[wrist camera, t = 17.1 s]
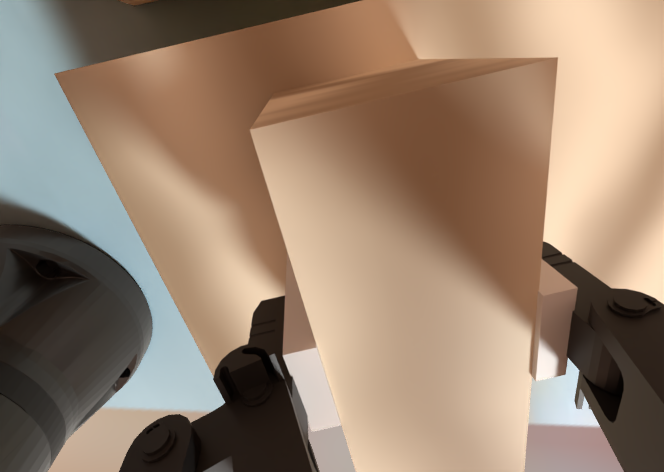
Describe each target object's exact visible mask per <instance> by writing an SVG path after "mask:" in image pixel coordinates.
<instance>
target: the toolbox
mask: <svg viewBox="0 0 664 472" xmlns="http://www.w3.org/2000/svg"><path fill="white" fill-rule="evenodd" d="M118 1H121V2H124V3H127V4H130V5H133V6H137V5H141V4H145V3H149V2H153V1H158V0H118Z"/></svg>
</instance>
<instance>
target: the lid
mask: <svg viewBox="0 0 664 472" xmlns="http://www.w3.org/2000/svg"><path fill="white" fill-rule="evenodd" d="M55 76H56V78H57V80H58V82H59V84H60V86H61V88H62V90H63V92H64V93H65V95H66V97H67V99H68V101H69V103H70V105H71V107H72V109H73V111H74V112H75V114H76V116H77V118H78V120H79V122H80V124H81V126H82V128H83V129H84V131H85V133H86V135H87V137H88V139H89V141H90V143H91V145H92V147H93V148H94V150H95V152H96V154H97V156H98V158H99V160H100V162H101V164H102V166H103V167H104V169H105V171H106V173H107V175H108V177H109V179H110V181H111V183H112V185H113V186H114V188H115V190H116V192H117V194H118V196H119V198H120V200H121V202H122V204H123V205H124V207H125V209H126V211H127V213H128V215H129V217H130V219H131V221H132V223H133V224H134V226H135V228H136V230H137V232H138V234H139V236H140V238H141V240H142V242H143V243H144V245H145V247H146V249H147V251H148V253H149V255H150V257H151V259H152V261H153V262H154V264H155V266H156V268H157V270H158V272H159V274H160V276H161V278H162V280H163V281H164V283H165V285H166V287H167V289H168V291H169V293H170V295H171V297H172V299H173V300H174V302H175V304H176V306H177V308H178V310H179V312H180V314H181V316H182V318H183V319H184V321H185V323H186V325H187V327H188V329H189V331H190V333H191V335H192V337H193V338H194V340H195V342H196V344H197V346H198V348H199V350H200V352H201V354H202V356H203V357H204V359H205V361H206V363H207V365H208V367H209V369H210V371H211V373H212V375H213V376H214V373H215V369H216V368H217V366H218V364H219V363H220V361H221V360H222V359H223V358H224V357H225V356H226V355H227V354H228V353H230V352H231V351H233V350H234V349H236V348H238V347H240V346H242V345H246V344H248V341H249V338H250V336H249V335H250V329H251V323H252V317H253V312H254V311H255V309H256V308H257V306H258V305H259V304H260V302H261V301H263V300H267V299H271V298H276V297H280V296H284V295H285V288H286V265H287V252H288V255H289V258H290V261H291V264H292V268H293V271H294V274H295V277H296V281H297V284H298V287H299V290H300V293H301V297H302V300H303V303H304V306H305V309H306V313H307V316H308V319H309V322H310V326H311V329H312V332H313V335H314V338H315V342H316V343H317V346H318V350H319V353H320V356H321V359H322V362H323V366H324V369H325V372H326V375H327V378H328V381H329V385H330V388H331V391H332V394H333V397H334V401H335V404H336V407H337V410H338V413H339V417H340V421H341V425H342V428H343V431H344V435H345V438H346V441H347V445H348V448H349V451H350V454H351V457H352V461H353V464H354V467H355V470H356V472H524V467H525V455H526V443H527V430H528V418H529V406H530V394H531V382H532V376H531V374H532V361H533V348H534V336H535V323H536V310H537V297H538V291H539V284H540V272H541V260H542V247H543V241H544V242H547V243H549V244H551V245H552V246H554V247H555V248H556V249H558V250H559V251H560V252H562V255H563V254H565V255H566V256H567V257H569V258H570V259H572V261H573V262H576V263H577V264H578V265H580V266H581V267H583V268H584V269H585V270H587V271H588V272H590V273H591V274H592V275H594V276H595V277H597V278H598V279H599V280H601V281H602V282H603V283H605V284H606V285H608V286H609V287H610V288H618V289H629V290H634V291H638V292H642V293H644V294H647V295H649V296H652V297H654V298H656V299H657V300H658V301H660V302H661V303H663V304H664V0H362V1H358V2H353V3H349V4H345V5H341V6H337V7H332V8H328V9H324V10H320V11H316V12H311V13H307V14H303V15H299V16H295V17H290V18H286V19H282V20H278V21H274V22H269V23H265V24H261V25H257V26H253V27H248V28H244V29H240V30H236V31H232V32H227V33H223V34H219V35H215V36H211V37H206V38H202V39H198V40H194V41H190V42H185V43H181V44H177V45H173V46H169V47H164V48H160V49H156V50H152V51H148V52H143V53H139V54H135V55H131V56H127V57H122V58H118V59H114V60H110V61H106V62H101V63H97V64H93V65H89V66H85V67H80V68H76V69H72V70H68V71H64V72H59V73H55Z"/></svg>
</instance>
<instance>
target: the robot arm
mask: <svg viewBox="0 0 664 472" xmlns="http://www.w3.org/2000/svg"><path fill="white" fill-rule="evenodd" d="M151 336H152V317H151V312H150V309H149V306H148V303H147V301H146V299H145V297H144V295H143V293H142V291H141V290H140V288H139V287H138V285H137V284H136V283H135V281H134V280H133V279H132V278H131V277H130V276H129V274H128V273H127V272H126V271H125V270H124V269H122V268H121V267H120V266H119V265H118V264H117V263H116V262H114V261H113V260H112V259H110V258H109V257H108V256H106V255H105V254H103V253H102V252H100V251H98V250H97V249H95V248H93V247H91V246H90V245H88V244H86V243H84V242H82V241H79V240H77V239H75V238H72V237H70V236H67V235H64V234H61V233H58V232H54V231H51V230H47V229H42V228H37V227H30V226H21V225H0V472H47V471H48V470H49V468H50V467H51V465H52V463H53V462H54V460H55V458H56V456H57V455H58V453H59V452H60V450H61V448H62V447H63V445H64V444H65V442H66V440H67V439H68V438H69V437H70V436H71V435H72V434H73V433H74V432H75V431H76V430H78V428H80V427H81V426H82V424H84V423H85V422H86V421H87V420H88V419H89V418H90V417H91V416H92V415H93V414H94V413H95V412H97V411H98V410H99V409H100V408H101V407H102V406H103V405H104V404H105V403H106V402H107V401H108V400H109V399H110V398H111V397H112V396H113V395H114V394H115V393H116V392H117V391H119V390H120V389H121V388H122V387H123V386H124V385H125V384H126V383H127V382H128V381H129V379H130V378H131V377H132V376H133V374H134V373H135V371H136V370H137V368H138V366H139V364H140V362H141V360H142V358H143V356H144V354H145V352H146V350H147V349H148V346H149V344H150V340H151ZM249 336H250V338H249V341H248V344H246V345H242V346H240V347H238V348H236V349H234V350H233V351H231V352H230V353H228V354H227V355H226V356H225V357H224V358H223V359H222V360H221V361H220V363H219V364H218V366H217V368H216V369H215V373H214V378H213V380H214V382H215V384H216V386H217V387H218V389H219V391H220V393H221V395H222V397H223V399H224V401H225V402H226V403H225V404H223V405H222V406H221V407H219V408H218V409H216V410H214V411H213V412H211V413H209V414H207V415H205V416H203V417H201V418H199V419H198V420H195V421H193V422H192V423H190V421H189V420H188V418H186V417H184V416H182V415H180V414H176V415H168V416H165V417H163V418H160V419H158V420H156V421H155V422H153V423H152V424H150V425H149V426H147V427H146V428H145V429H144V430H143V431H142V432H141V433H140V434H139V435H138V436H137V437H136V439H135V440H134V441H133V443H132V445H131V446H130V448H129V450H128V452H127V454H126V456H125V459H124V461H123V463H122V466H121V468H120V471H119V472H319V468H318V465H317V462H316V459H315V456H314V453H313V449H312V447H311V444H310V442H309V440H308V423H309V425H310V428H311V431H312V432H313V431H318V430H322V429H327V428H331V427H336V426H340V425H341V421H340V417H339V413H338V410H337V407H336V404H335V401H334V397H333V394H332V391H331V388H330V385H329V381H328V378H327V375H326V372H325V369H324V366H323V362H322V359H321V356H320V353H319V350H318V346H317V343H316V342H315V338H314V335H313V332H312V329H311V326H310V322H309V319H308V316H307V313H306V309H305V306H304V303H303V300H302V297H301V293H300V290H299V287H298V284H297V281H296V277H295V274H294V271H293V268H292V264H291V261H290V258H289V255H288V252H287V265H286V288H285V295H284V296H280V297H276V298H271V299H267V300H263V301H261V302H260V304H259V305H258V306H257V308H256V309H255V311H254V312H253V317H252V323H251V329H250V335H249ZM568 358H569V359H570V360H571V361H572V363H573V364H574V365H575V366H576V367H577V368H578V369H579V370H580V371H579V377H578V383H577V389H576V395H575V404H576V408H577V409H582V405H583V400H584V396H585V398H586V400H587V402H588V404H589V409H591V410H592V412H593V413H594V415H595V417H596V419H597V421H598V423H599V425H600V427H601V429H602V430H603V432H604V434H605V436H606V438H607V440H608V442H609V444H610V446H611V448H612V449H613V451H614V453H615V455H616V457H617V459H618V461H619V463H620V465H621V467H622V468H623V470H624V472H664V304H663V303H661V302H660V301H658V300H657V299H656V298H654V297H652V296H649V295H647V294H644V293H642V292H638V291H634V290H629V289H618V288H610V287H609V286H608V285H606V284H605V283H603V282H602V281H601V280H599V279H598V278H597V277H595V276H594V275H592V274H591V273H590V272H588V271H587V270H585V269H584V268H583V267H581V266H580V265H578V264H577V263H576V262H573V261H572V259H570V258H569V257H567V256H566V255H565V254H563V255H562V252H560V251H559V250H558V249H556V248H555V247H554V246H552V245H551V244H549V243H547V242H544V241H543V247H542V260H541V272H540V284H539V291H538V297H537V310H536V323H535V336H534V348H533V361H532V374H531V376H532V377H533V378H534V380H535V381H539V380H543V379H548V378H552V377H557V376H561V375H565V374H566V367H567V360H568Z"/></svg>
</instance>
